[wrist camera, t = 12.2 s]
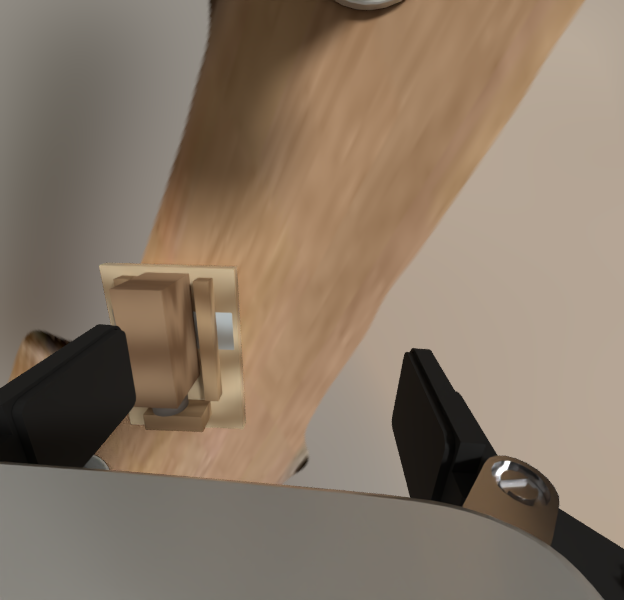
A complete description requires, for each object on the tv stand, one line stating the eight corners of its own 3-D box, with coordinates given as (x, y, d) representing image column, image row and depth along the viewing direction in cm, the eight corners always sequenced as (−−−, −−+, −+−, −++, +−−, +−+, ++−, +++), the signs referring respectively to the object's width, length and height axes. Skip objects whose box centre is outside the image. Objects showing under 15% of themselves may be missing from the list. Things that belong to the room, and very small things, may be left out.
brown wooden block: (145, 272, 33) (108, 289, 27) (188, 273, 33) (160, 290, 27) (163, 388, 38) (135, 423, 32) (201, 389, 37) (179, 425, 32)
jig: (106, 262, 34) (77, 272, 30) (236, 266, 34) (225, 276, 30) (136, 417, 41) (115, 442, 37) (245, 422, 40) (237, 447, 36)
